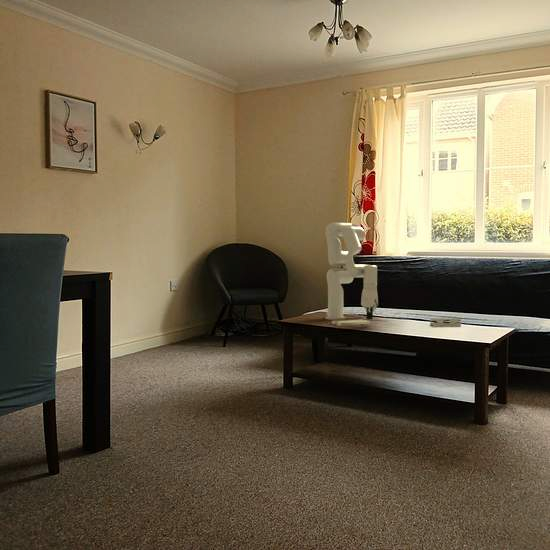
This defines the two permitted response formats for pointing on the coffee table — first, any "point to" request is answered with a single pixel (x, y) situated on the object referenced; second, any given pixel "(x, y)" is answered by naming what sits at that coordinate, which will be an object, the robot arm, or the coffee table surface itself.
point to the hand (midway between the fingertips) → (369, 319)
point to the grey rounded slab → (440, 322)
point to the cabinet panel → (349, 321)
